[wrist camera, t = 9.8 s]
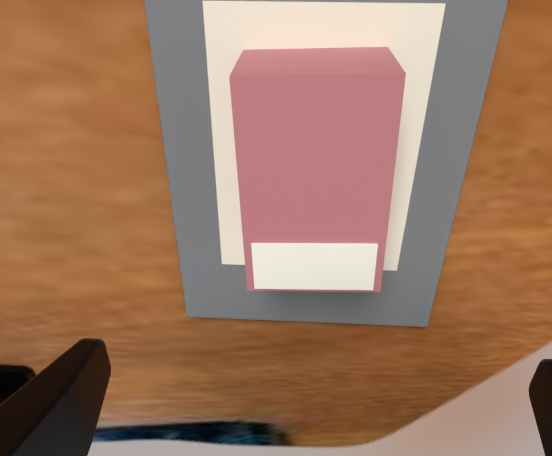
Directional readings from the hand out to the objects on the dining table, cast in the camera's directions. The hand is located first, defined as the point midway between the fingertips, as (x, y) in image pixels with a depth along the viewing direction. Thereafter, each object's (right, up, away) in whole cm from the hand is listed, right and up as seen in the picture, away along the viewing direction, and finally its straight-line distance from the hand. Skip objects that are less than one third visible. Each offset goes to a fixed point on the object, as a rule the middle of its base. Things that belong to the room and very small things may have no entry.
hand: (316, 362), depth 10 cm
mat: (+1, +6, +9) cm, 11 cm away
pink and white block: (+1, +6, +9) cm, 10 cm away
